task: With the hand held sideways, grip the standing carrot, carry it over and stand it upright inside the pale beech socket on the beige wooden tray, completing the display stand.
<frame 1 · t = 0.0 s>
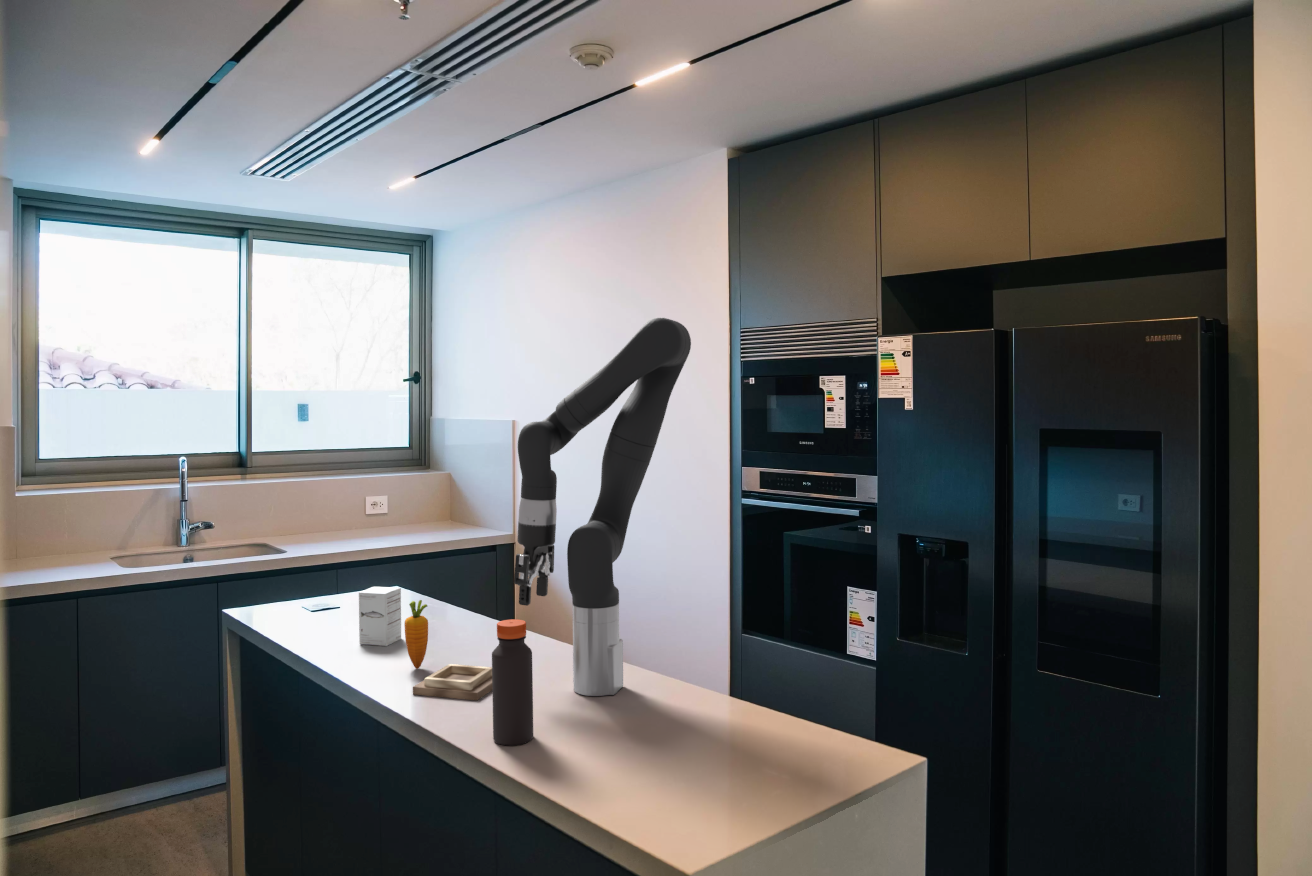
hand: (533, 600, 181), 17 cm above the counter, tool pointing down, fingers open, 8 cm apart
carrot: (417, 669, 193), on the counter
bottle: (513, 739, 153), on the counter
beige wooden tray: (459, 687, 180), on the counter
supplement box: (380, 642, 215), on the counter
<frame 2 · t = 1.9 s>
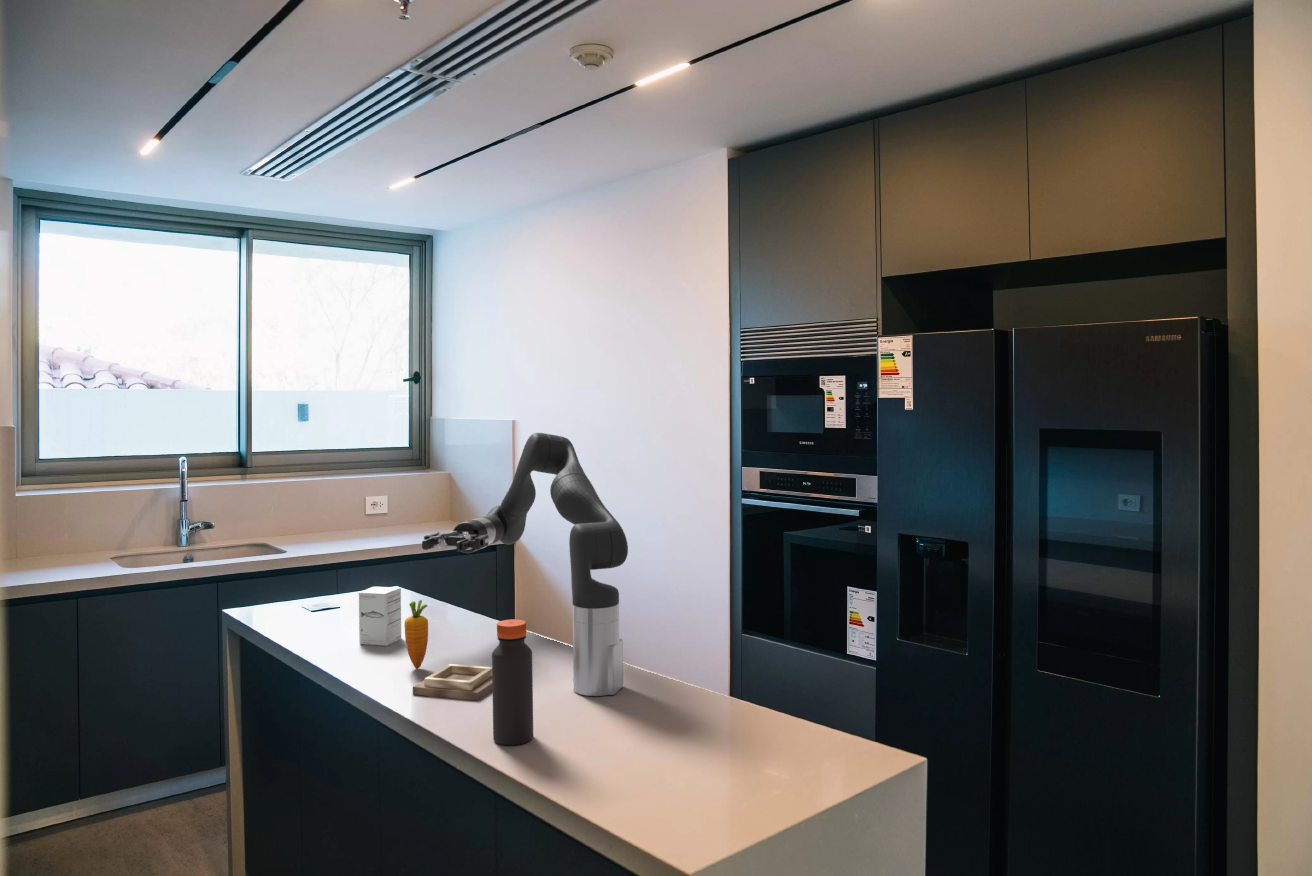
hand: (440, 546, 202), 25 cm above the counter, tool horizontal, fingers open, 8 cm apart
nothing on the counter moved.
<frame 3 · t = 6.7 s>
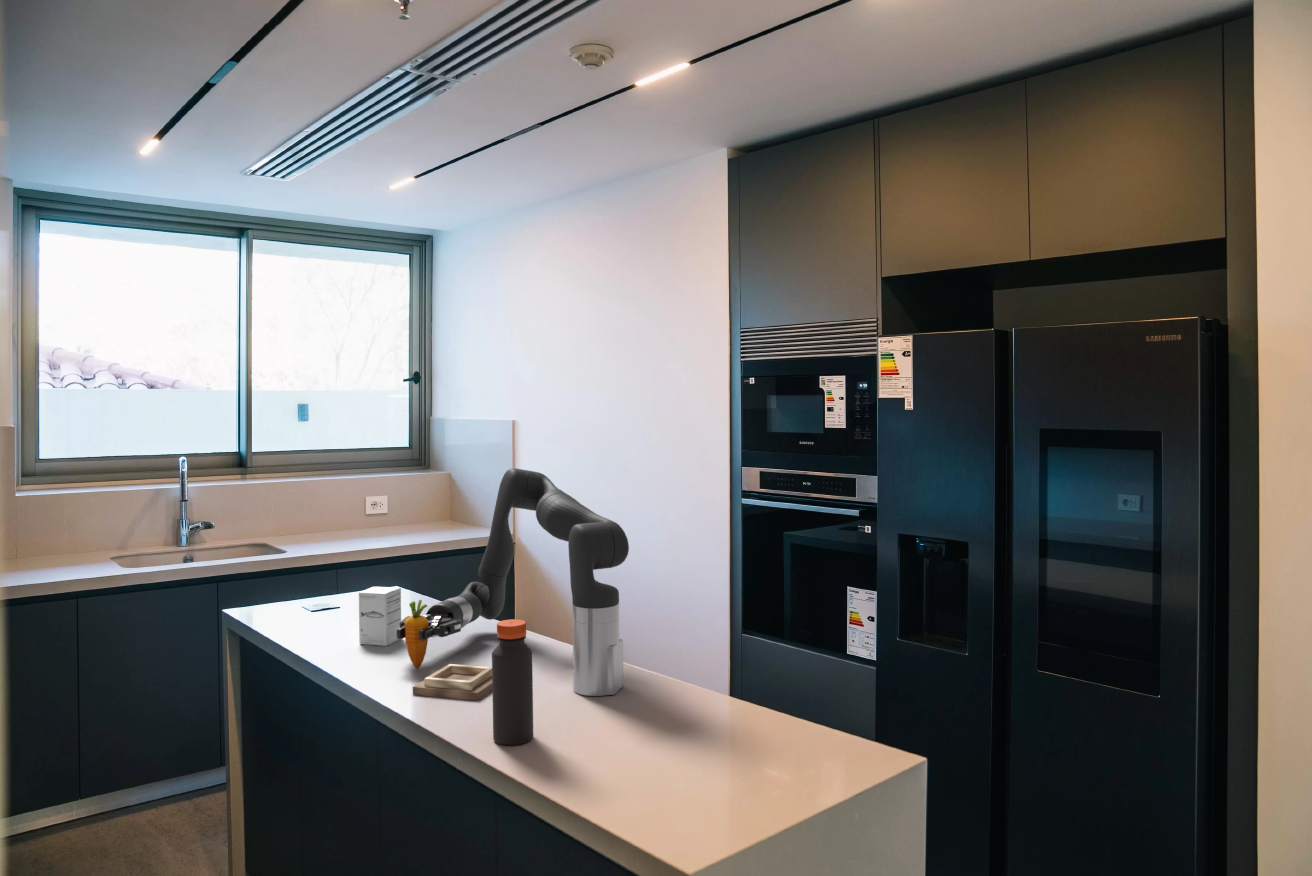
hand: (409, 635, 190), 8 cm above the counter, tool horizontal, fingers closed on carrot, 4 cm apart
carrot: (417, 669, 193), on the counter, touching gripper
everything else where it was.
when the fingers open (10 cm above the counter, at t = 12.4 s): carrot stays where it is, resting on beige wooden tray.
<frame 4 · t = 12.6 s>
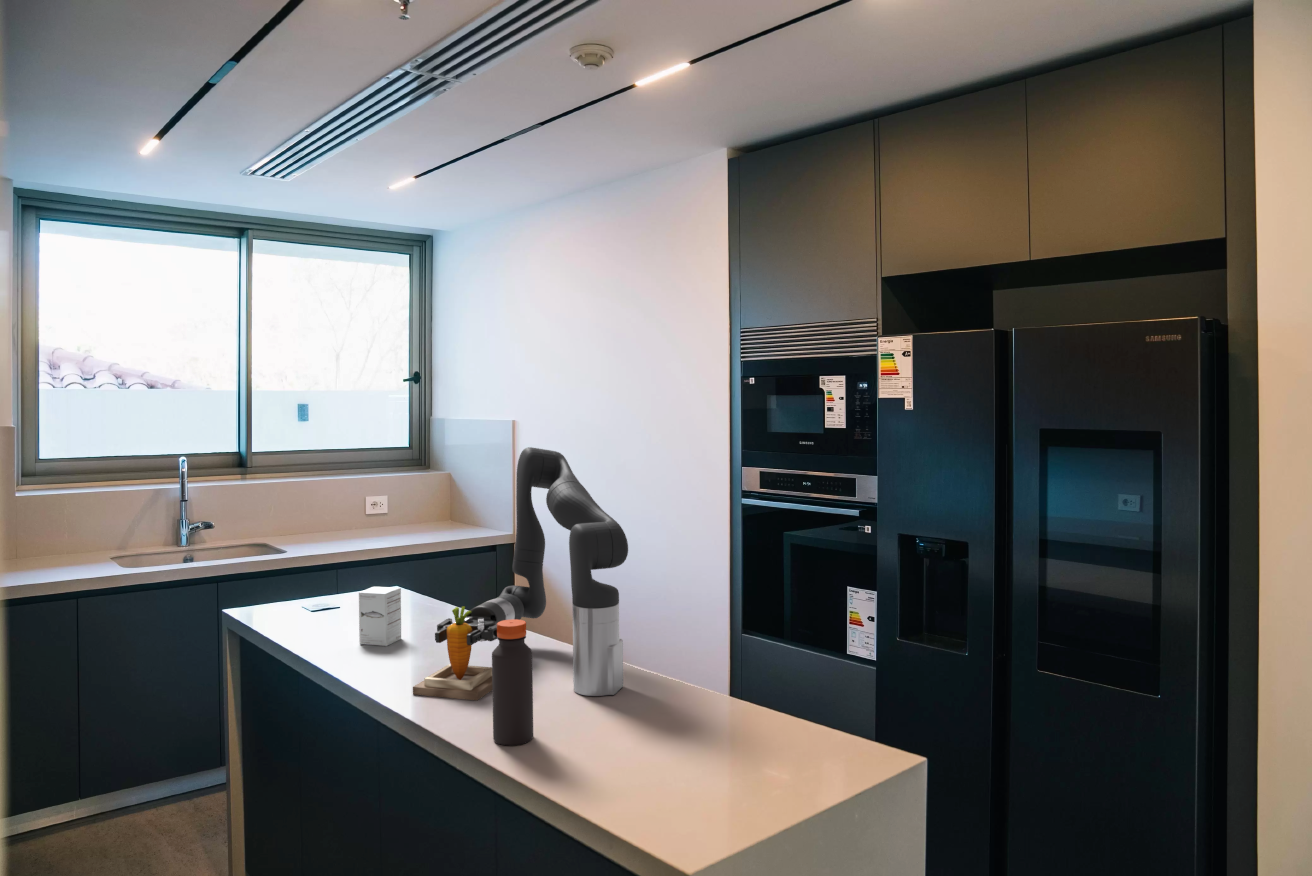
hand: (453, 638, 177), 10 cm above the counter, tool horizontal, fingers open, 6 cm apart
carrot: (459, 680, 180), point 1 cm above the counter, touching beige wooden tray
everything else where it was.
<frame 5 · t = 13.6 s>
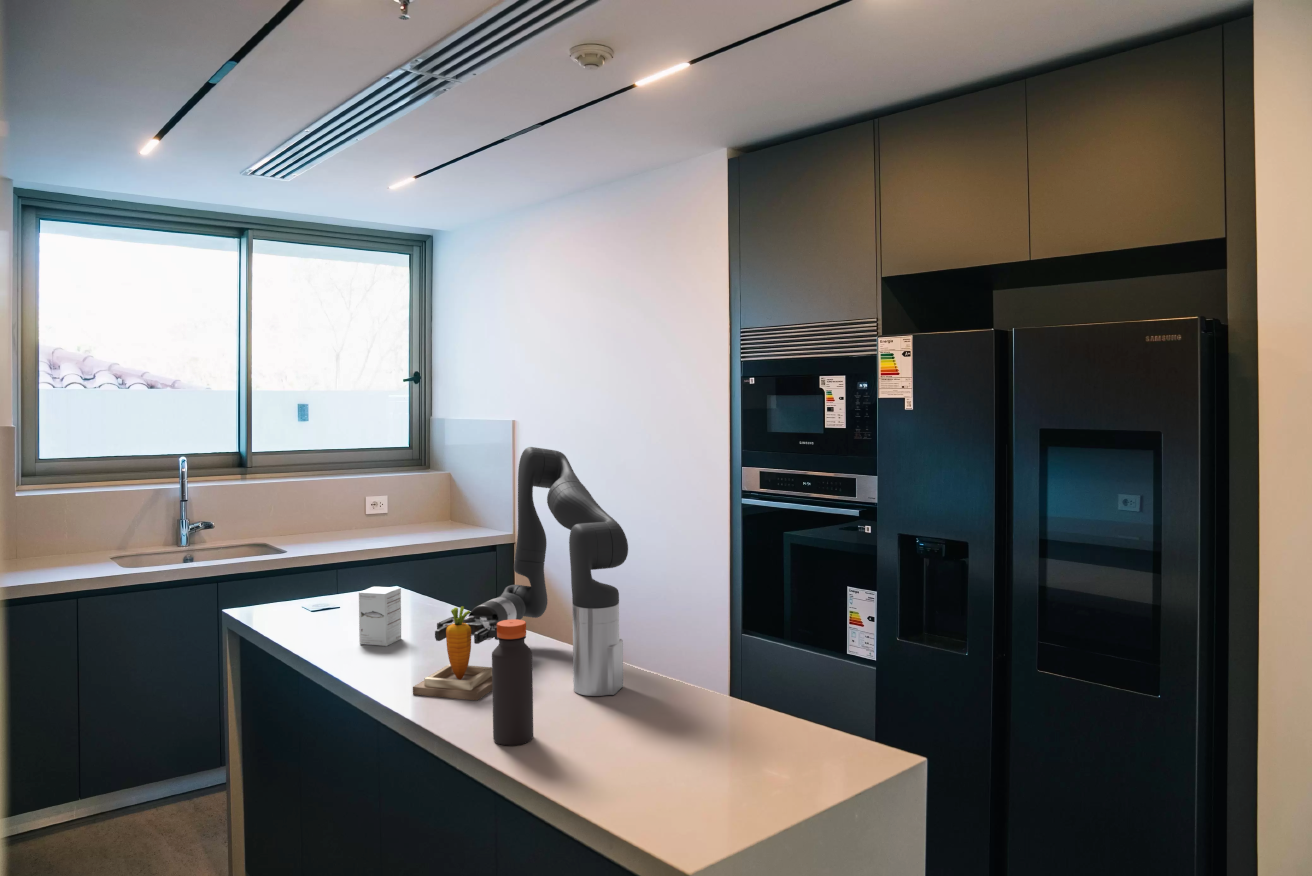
hand: (456, 637, 179), 10 cm above the counter, tool horizontal, fingers open, 8 cm apart
nothing on the counter moved.
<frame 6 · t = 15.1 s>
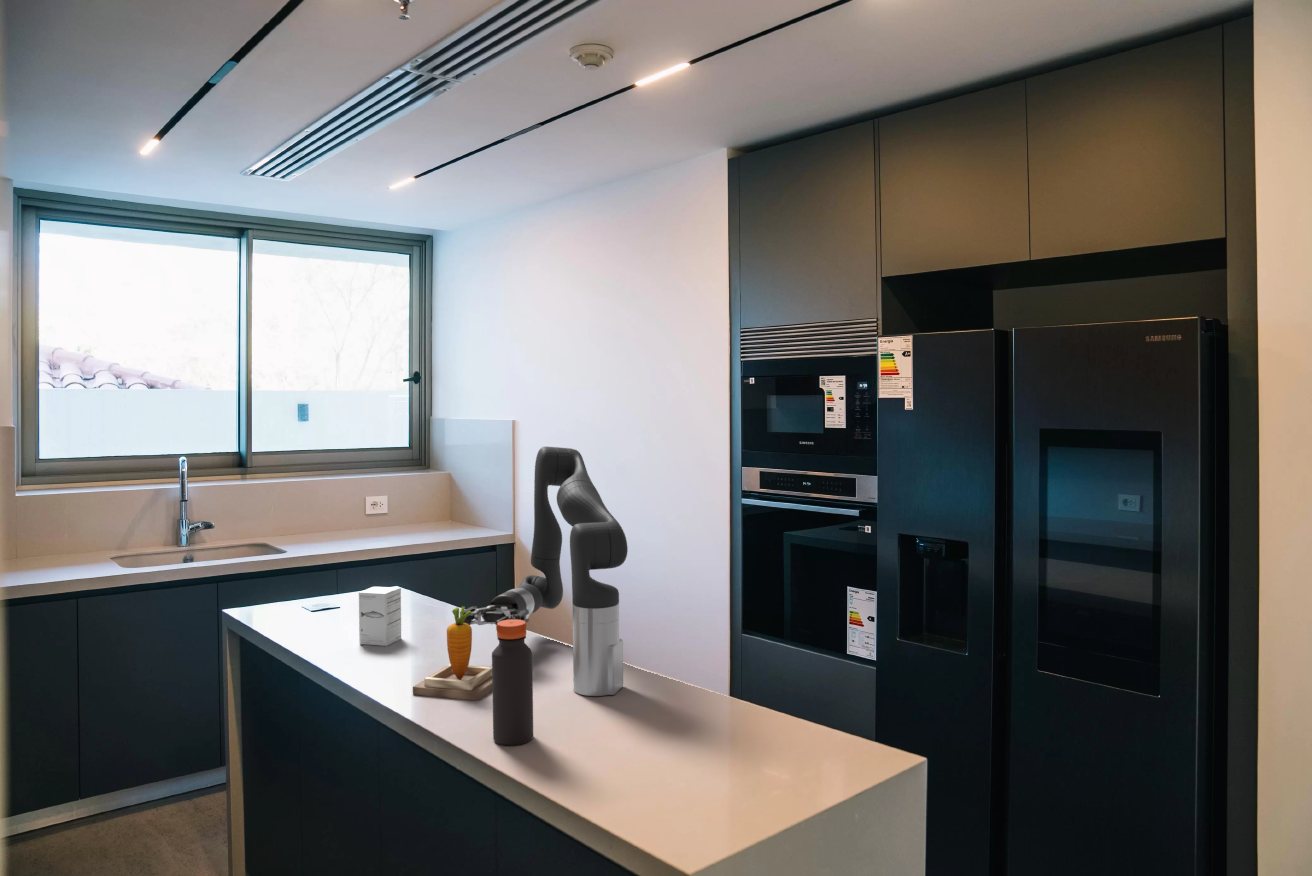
hand: (479, 624, 188), 10 cm above the counter, tool horizontal, fingers open, 8 cm apart
nothing on the counter moved.
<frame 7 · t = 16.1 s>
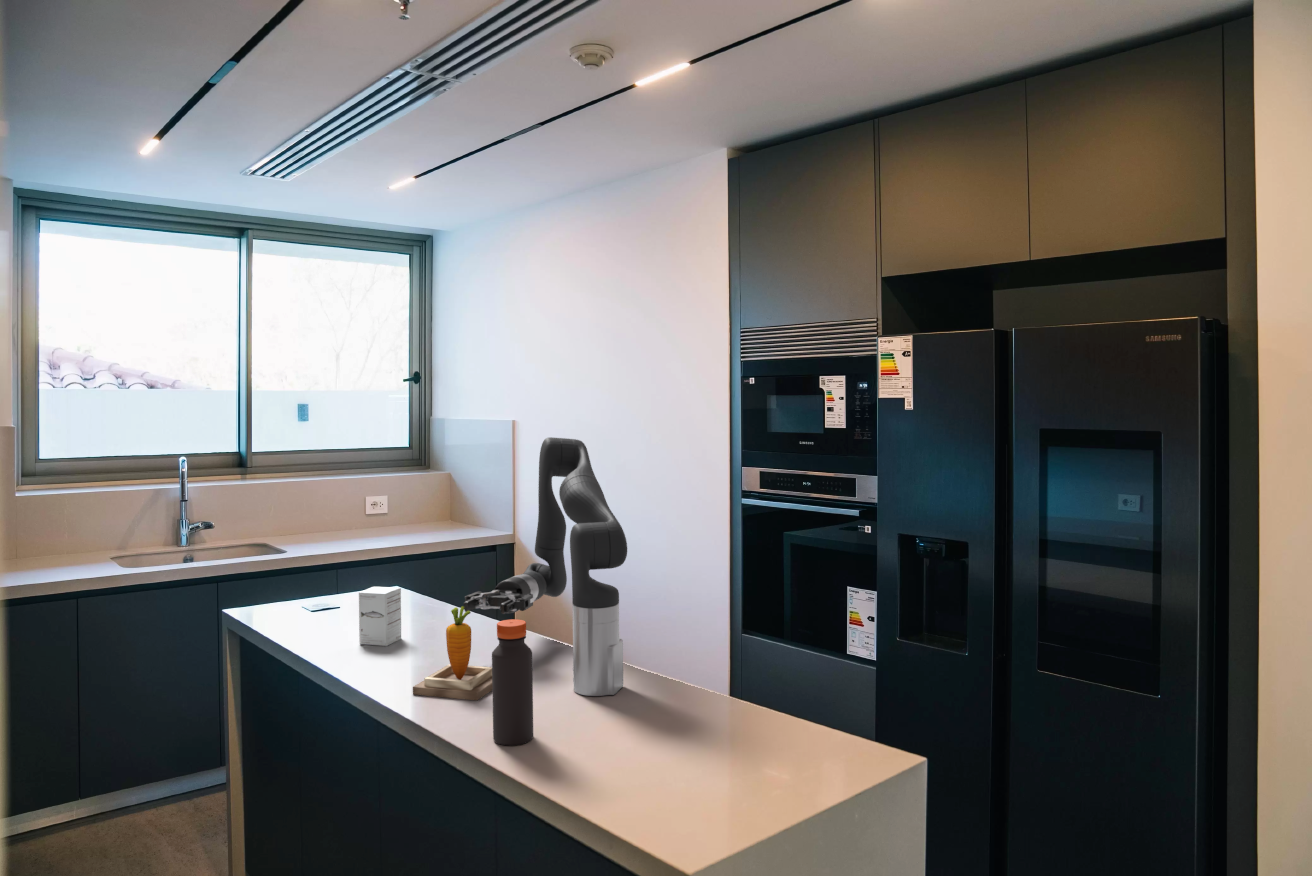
hand: (484, 608, 190), 14 cm above the counter, tool horizontal, fingers open, 8 cm apart
nothing on the counter moved.
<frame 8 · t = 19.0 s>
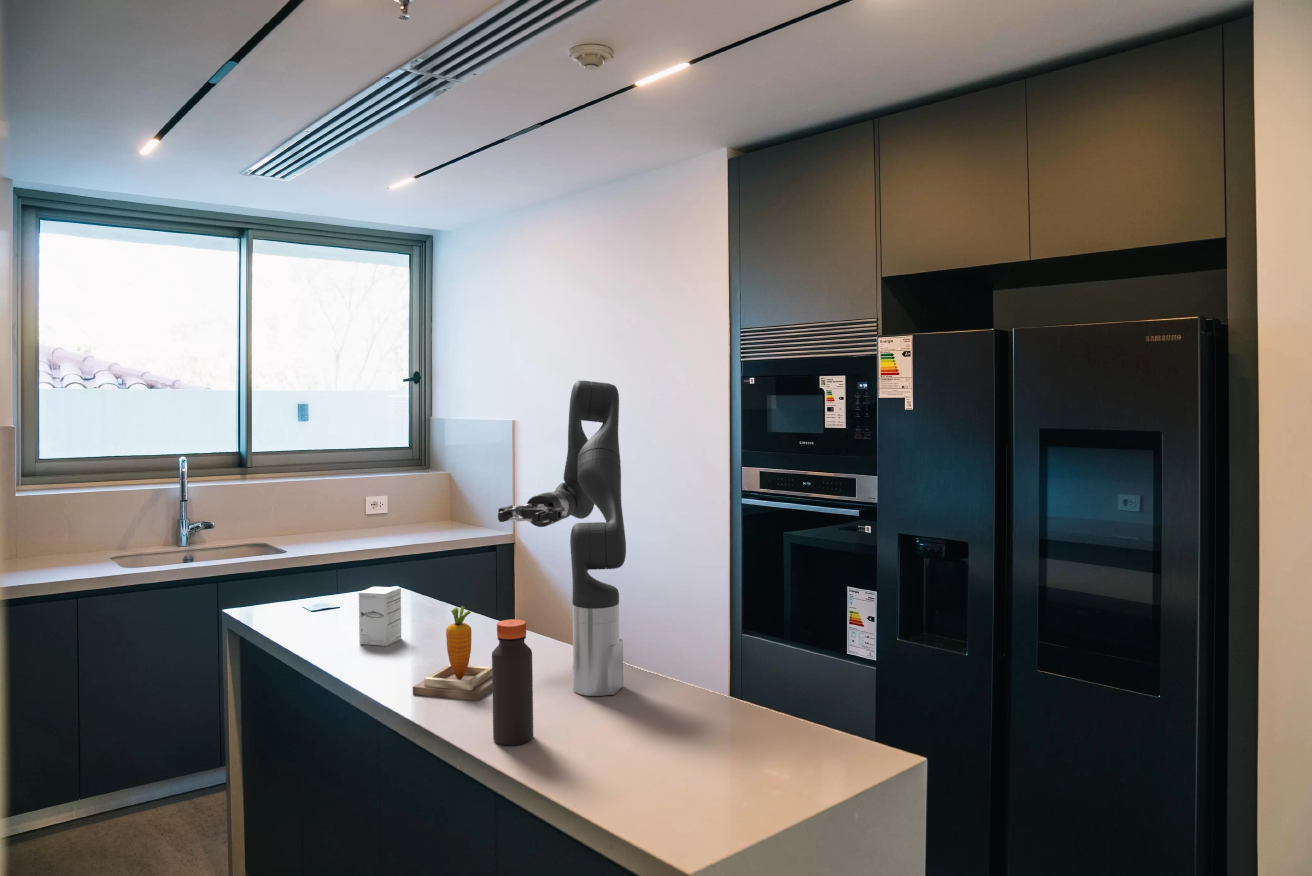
hand: (518, 517, 195), 32 cm above the counter, tool horizontal, fingers open, 8 cm apart
nothing on the counter moved.
at the end: carrot 0.2 cm off-centre on the beige wooden tray, point 1.3 cm above the beige wooden tray's base; carrot tilted 0°; the gripper is holding nothing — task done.
